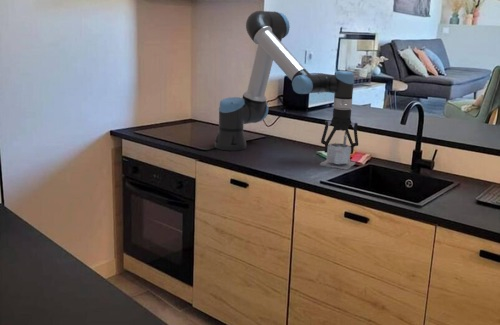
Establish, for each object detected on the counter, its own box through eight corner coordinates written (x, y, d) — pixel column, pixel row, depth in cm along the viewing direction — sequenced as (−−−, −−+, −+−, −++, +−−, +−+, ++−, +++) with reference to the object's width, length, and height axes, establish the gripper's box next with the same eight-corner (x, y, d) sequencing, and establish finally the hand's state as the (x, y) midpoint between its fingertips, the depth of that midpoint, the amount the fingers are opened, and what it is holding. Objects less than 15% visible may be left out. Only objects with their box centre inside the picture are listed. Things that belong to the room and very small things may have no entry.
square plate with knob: (319, 165, 223) (321, 149, 221) (329, 159, 233) (330, 145, 232) (346, 169, 218) (348, 153, 216) (355, 163, 228) (356, 148, 226)
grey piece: (327, 158, 230) (329, 142, 228) (347, 159, 229) (348, 144, 227) (328, 164, 219) (329, 147, 217) (348, 165, 218) (350, 149, 216)
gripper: (317, 108, 217) (313, 161, 223) (368, 111, 215) (363, 164, 220) (317, 105, 224) (313, 156, 230) (367, 108, 222) (362, 160, 228)
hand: (338, 160), depth 225 cm, fingers closed on grey piece, 8 cm apart
